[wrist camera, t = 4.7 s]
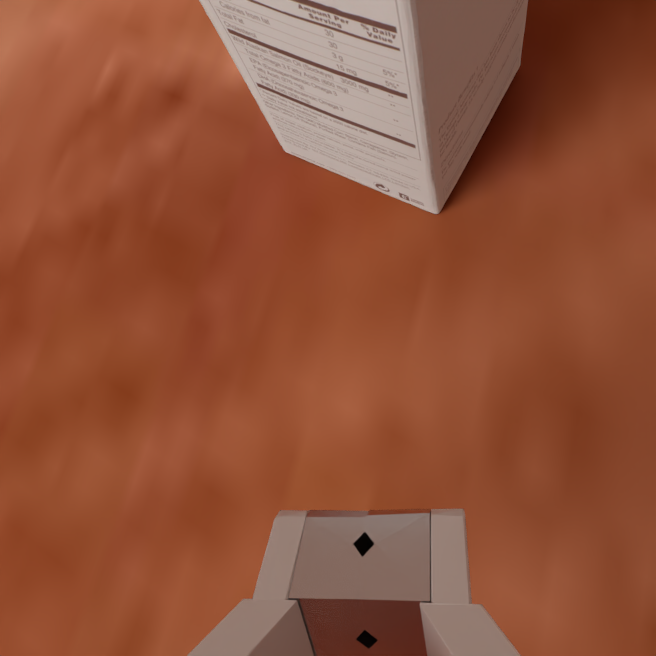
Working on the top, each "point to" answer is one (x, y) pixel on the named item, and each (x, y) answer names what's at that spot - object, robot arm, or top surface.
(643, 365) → the top surface
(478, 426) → the top surface
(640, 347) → the top surface
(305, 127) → the supplement box
